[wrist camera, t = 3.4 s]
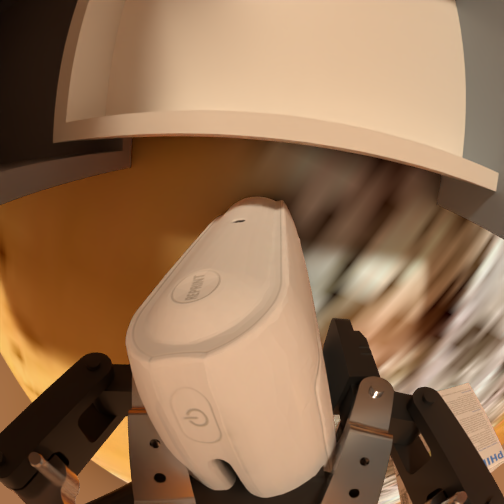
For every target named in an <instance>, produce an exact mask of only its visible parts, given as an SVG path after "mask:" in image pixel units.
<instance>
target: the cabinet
mask: <svg viewBox="0 0 504 504" xmlns="http://www.w3.org/2000/svg"><path fill="white" fill-rule="evenodd" d="M77 1H78V0H0V205H1V204H4V203H7V202H9V201H12V200H15V199H18V198H20V197H23V196H26V195H29V194H32V193H35V192H38V191H41V190H44V189H48V188H51V187H54V186H58V185H61V184H64V183H68V182H72V181H75V180H79V179H83V178H87V177H90V176H94V175H99V174H103V173H107V172H111V171H116V170H120V169H125V168H130V167H131V151H132V137H129V138H114V139H100V140H83V141H70V142H59V143H53V128H54V114H55V103H56V94H57V86H58V80H59V73H60V67H61V62H62V57H63V52H64V47H65V43H66V39H67V35H68V31H69V27H70V24H71V20H72V17H73V14H74V10H75V7H76V4H77Z"/></svg>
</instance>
